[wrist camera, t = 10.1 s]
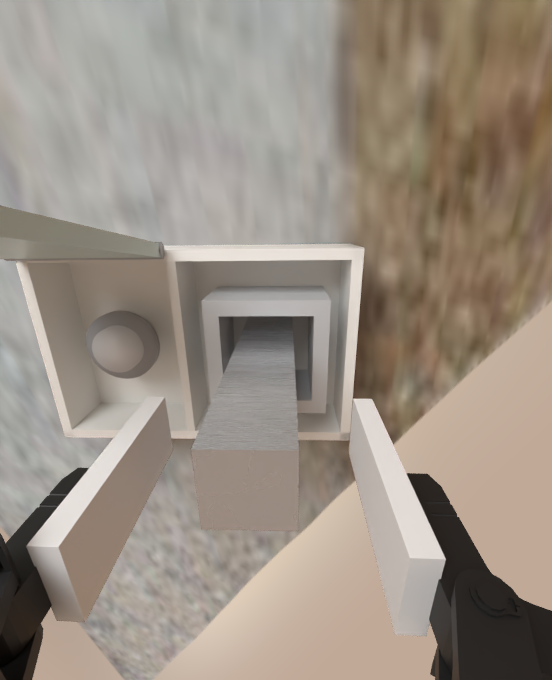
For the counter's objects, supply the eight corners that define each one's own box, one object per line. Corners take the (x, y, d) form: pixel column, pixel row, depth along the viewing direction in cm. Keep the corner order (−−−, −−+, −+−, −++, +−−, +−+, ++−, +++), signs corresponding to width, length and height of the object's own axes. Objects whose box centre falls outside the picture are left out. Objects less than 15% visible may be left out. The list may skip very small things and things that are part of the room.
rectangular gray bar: (249, 315, 25) (190, 449, 10) (292, 314, 25) (299, 450, 10) (251, 354, 26) (201, 529, 11) (292, 354, 26) (298, 531, 11)
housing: (65, 246, 25) (-1, 252, 19) (349, 243, 24) (368, 248, 18) (100, 403, 29) (56, 445, 24) (339, 405, 29) (351, 449, 23)
